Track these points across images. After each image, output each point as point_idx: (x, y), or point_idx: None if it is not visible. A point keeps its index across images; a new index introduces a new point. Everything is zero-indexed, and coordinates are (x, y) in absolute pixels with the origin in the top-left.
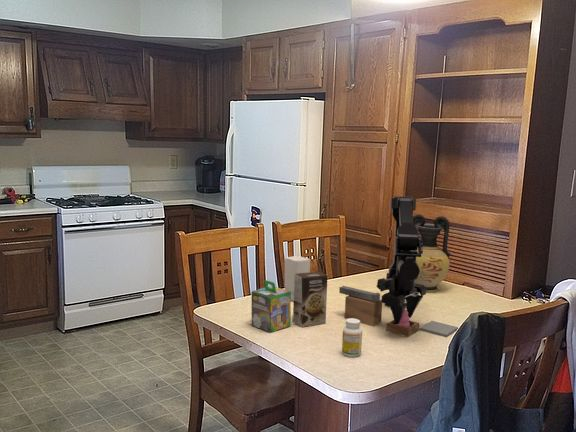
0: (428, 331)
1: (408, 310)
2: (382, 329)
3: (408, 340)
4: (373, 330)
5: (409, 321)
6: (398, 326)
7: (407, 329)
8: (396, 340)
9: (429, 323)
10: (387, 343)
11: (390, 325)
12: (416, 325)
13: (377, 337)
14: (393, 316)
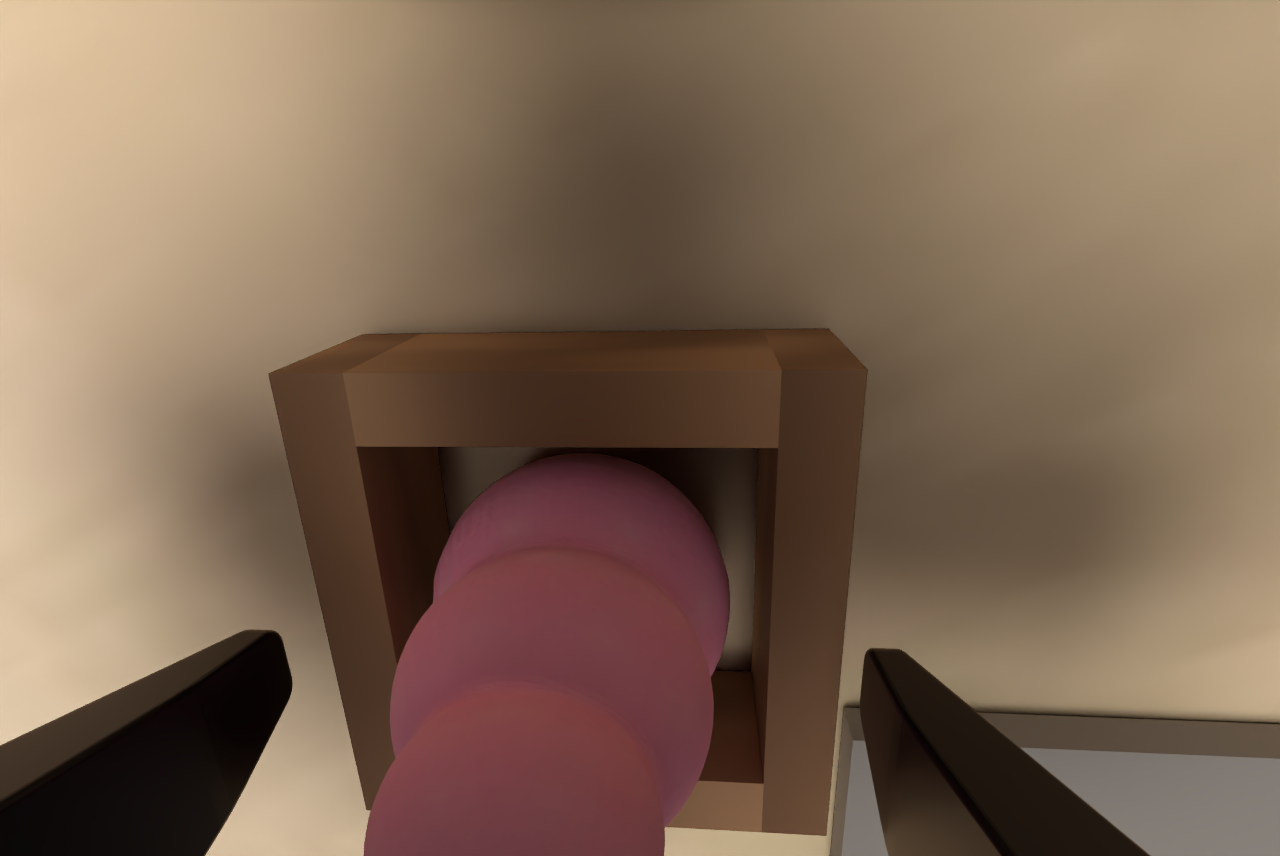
0: (837, 841)
1: (938, 829)
2: (388, 231)
3: (338, 747)
4: (197, 124)
5: (785, 677)
6: (345, 639)
7: (366, 795)
8: (197, 639)
9: (1195, 784)
10: (5, 600)
11: (304, 471)
12: (699, 816)
13: (24, 381)
14: (22, 748)
